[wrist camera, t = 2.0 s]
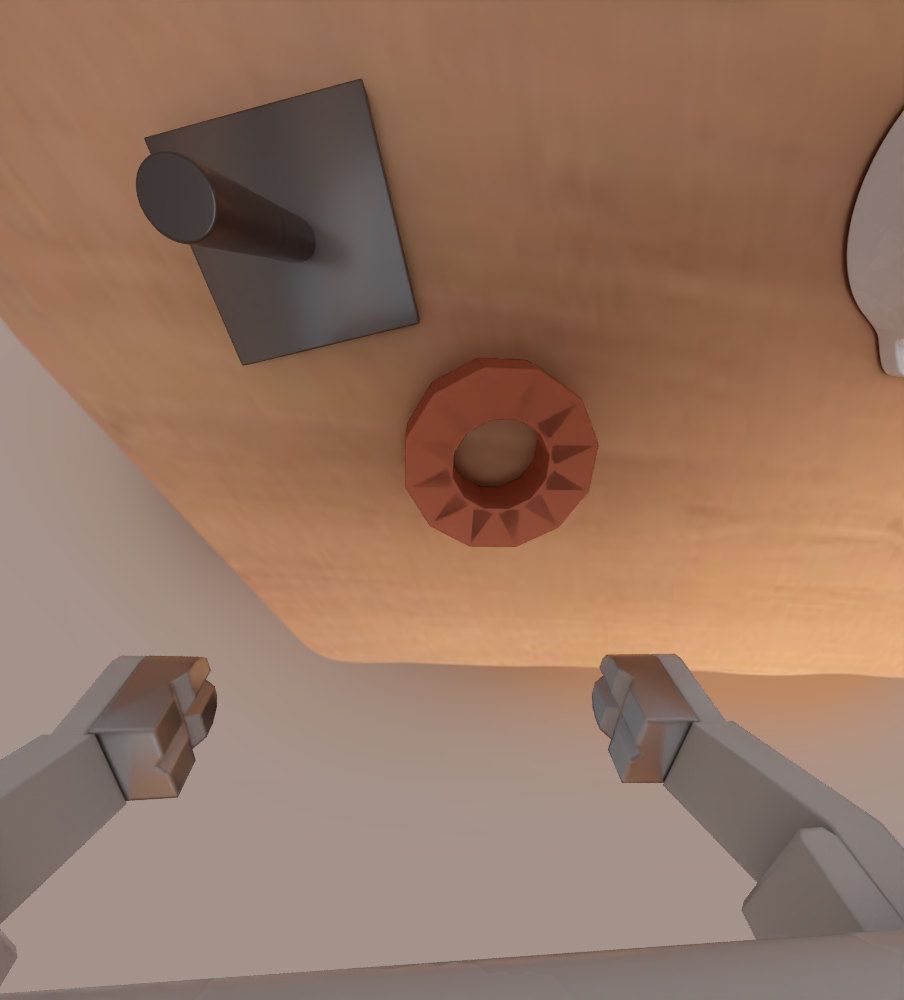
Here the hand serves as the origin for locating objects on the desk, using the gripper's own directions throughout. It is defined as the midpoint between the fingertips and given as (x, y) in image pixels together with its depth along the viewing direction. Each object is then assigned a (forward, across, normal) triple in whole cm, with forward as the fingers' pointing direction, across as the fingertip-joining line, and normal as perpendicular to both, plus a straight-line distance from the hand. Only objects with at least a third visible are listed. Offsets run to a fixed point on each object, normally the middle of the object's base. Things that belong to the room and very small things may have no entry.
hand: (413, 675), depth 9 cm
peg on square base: (+20, +6, -9) cm, 23 cm away
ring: (+20, -5, +2) cm, 20 cm away
